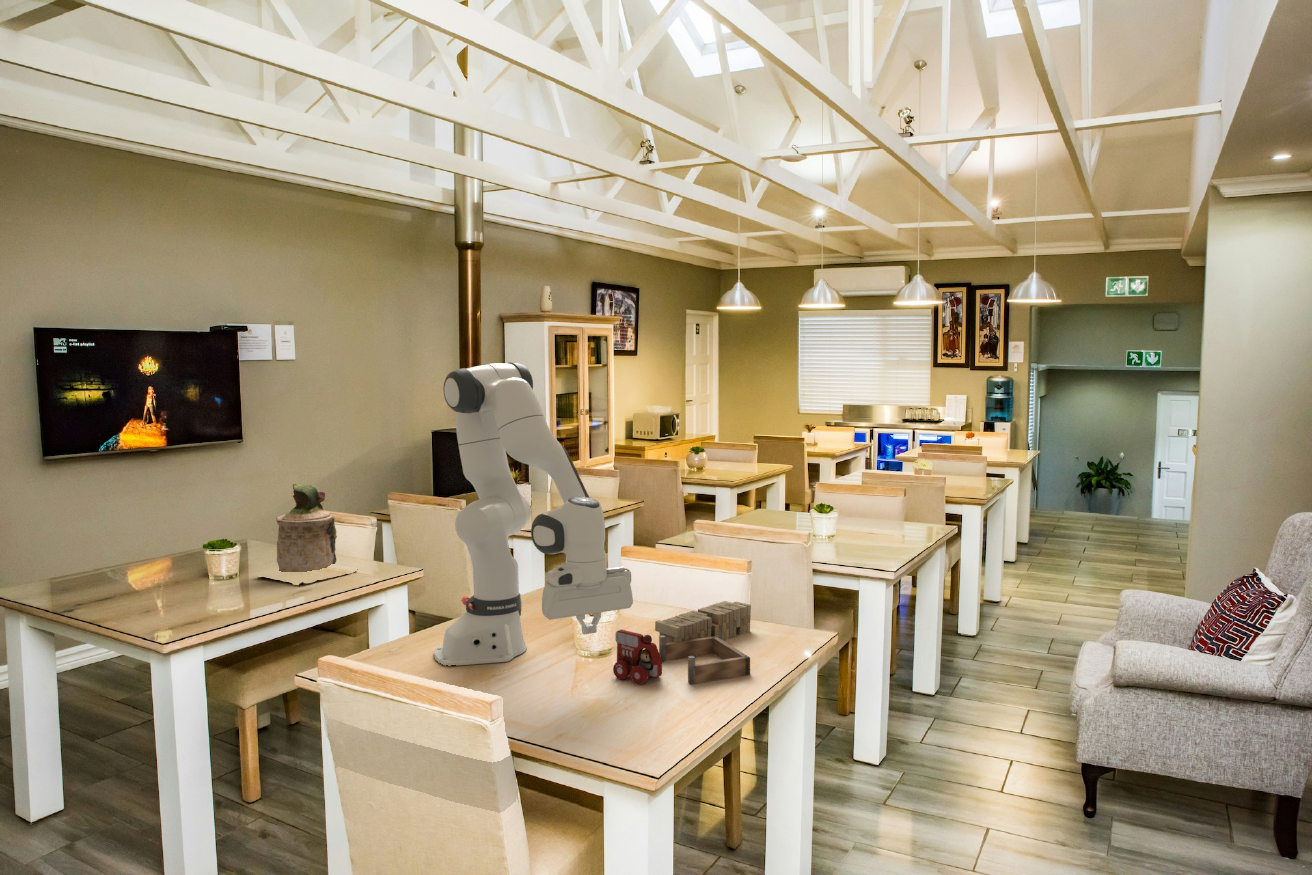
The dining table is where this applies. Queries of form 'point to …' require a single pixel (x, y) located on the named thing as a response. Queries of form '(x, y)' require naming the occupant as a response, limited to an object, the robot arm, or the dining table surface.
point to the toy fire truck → (636, 657)
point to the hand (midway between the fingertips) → (589, 632)
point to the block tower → (707, 622)
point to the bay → (728, 667)
